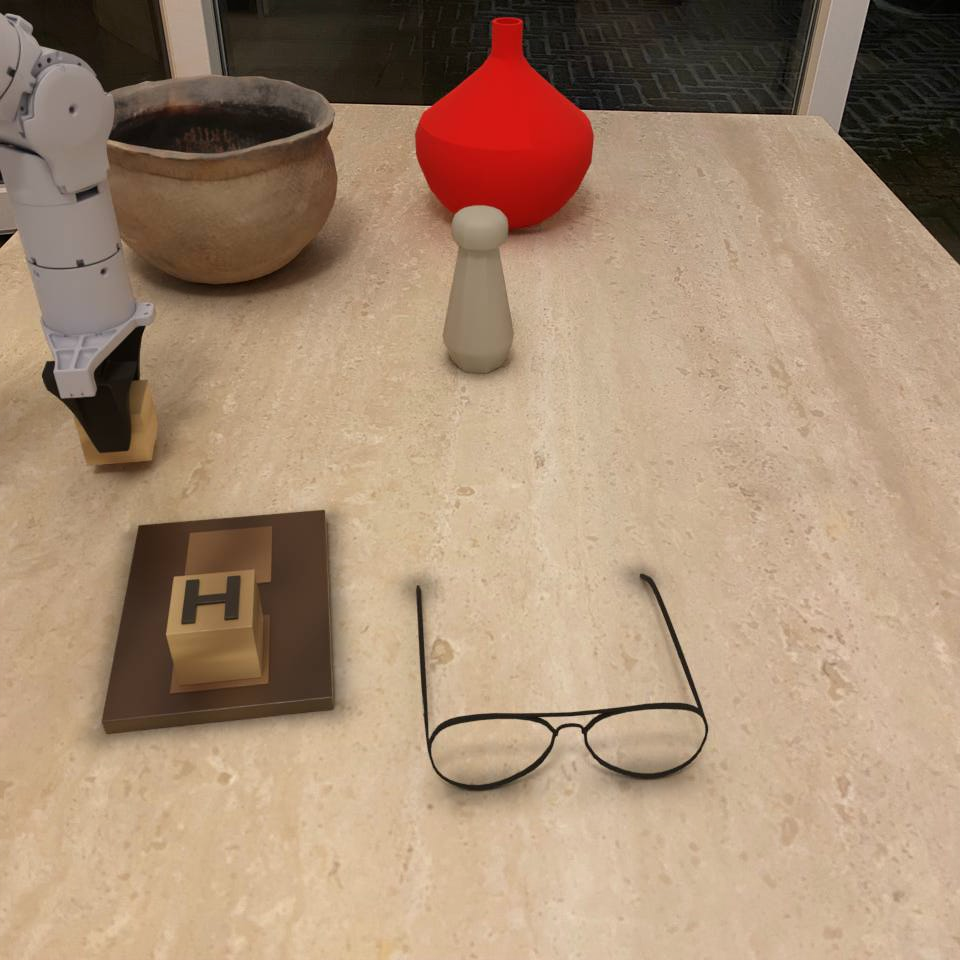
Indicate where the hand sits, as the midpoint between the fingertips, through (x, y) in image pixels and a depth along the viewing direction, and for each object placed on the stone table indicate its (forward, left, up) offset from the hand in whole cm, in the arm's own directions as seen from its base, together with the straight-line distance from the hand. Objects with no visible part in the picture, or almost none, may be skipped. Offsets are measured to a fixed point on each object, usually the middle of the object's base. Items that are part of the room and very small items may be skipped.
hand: (119, 429), depth 70 cm
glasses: (+26, -24, -3) cm, 35 cm away
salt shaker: (+27, +10, -3) cm, 29 cm away
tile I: (0, 0, -1) cm, 1 cm away
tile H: (+8, -21, -1) cm, 22 cm away
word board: (+8, -17, -3) cm, 19 cm away
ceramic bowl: (+6, +31, -3) cm, 32 cm away
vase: (+34, +40, -3) cm, 53 cm away
